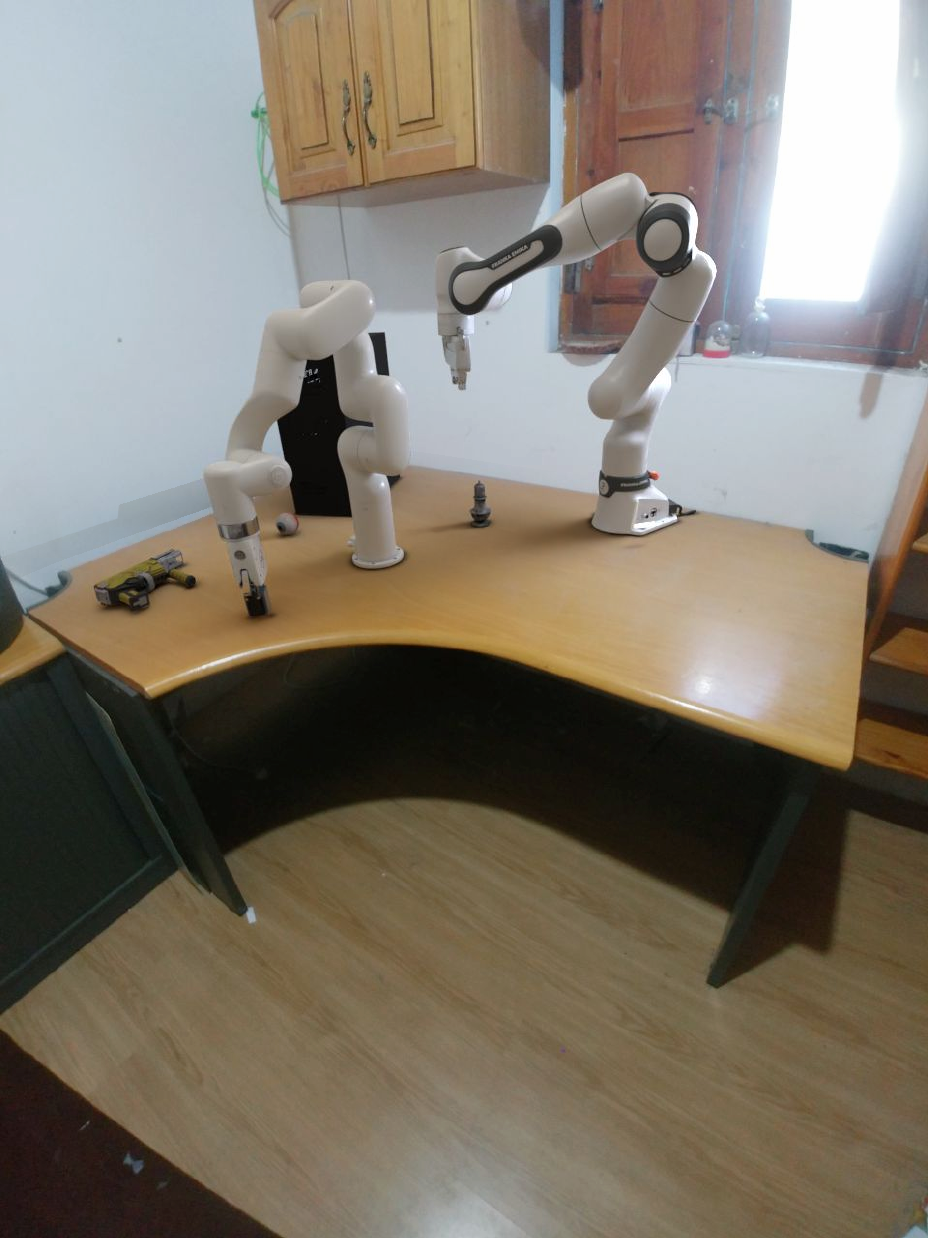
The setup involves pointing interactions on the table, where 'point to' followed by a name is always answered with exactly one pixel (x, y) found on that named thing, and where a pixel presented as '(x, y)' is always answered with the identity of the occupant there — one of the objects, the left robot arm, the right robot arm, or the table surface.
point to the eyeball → (287, 523)
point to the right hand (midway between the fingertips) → (459, 386)
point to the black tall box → (322, 438)
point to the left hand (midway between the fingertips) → (259, 609)
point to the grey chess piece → (480, 507)
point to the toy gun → (141, 581)
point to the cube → (265, 596)
